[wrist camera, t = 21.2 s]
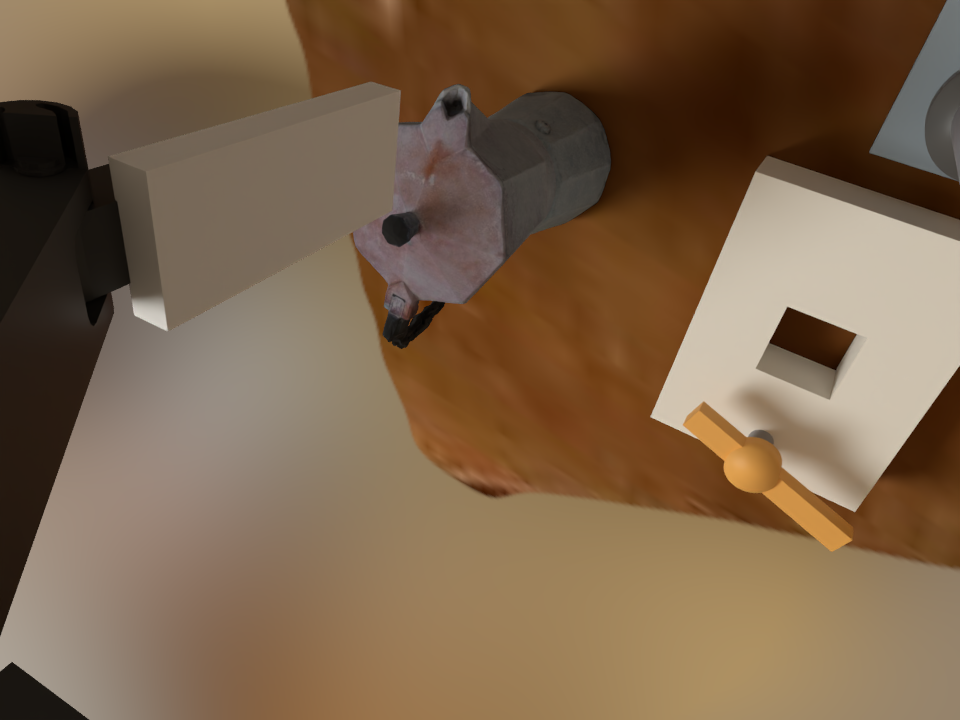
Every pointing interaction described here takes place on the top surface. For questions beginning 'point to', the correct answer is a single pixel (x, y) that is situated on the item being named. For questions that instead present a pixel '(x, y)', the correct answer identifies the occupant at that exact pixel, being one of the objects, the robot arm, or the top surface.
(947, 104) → the plug
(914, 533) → the top surface
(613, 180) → the top surface
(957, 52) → the pad
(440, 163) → the moka pot
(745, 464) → the orange bar with knob
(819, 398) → the socket board
